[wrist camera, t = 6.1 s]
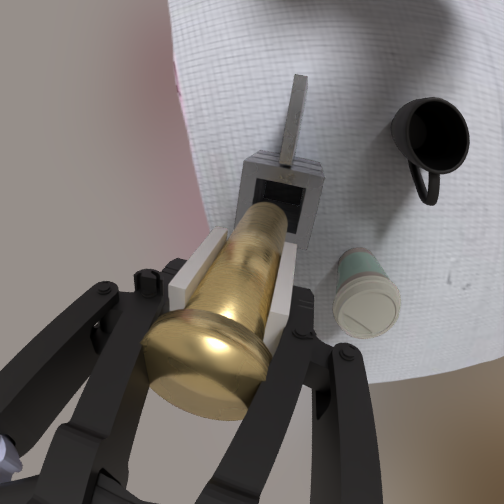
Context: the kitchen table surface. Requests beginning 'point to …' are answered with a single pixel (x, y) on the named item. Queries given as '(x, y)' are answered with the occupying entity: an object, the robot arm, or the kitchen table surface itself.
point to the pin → (221, 325)
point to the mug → (431, 141)
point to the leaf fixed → (287, 175)
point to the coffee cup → (364, 296)
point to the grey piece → (291, 136)
